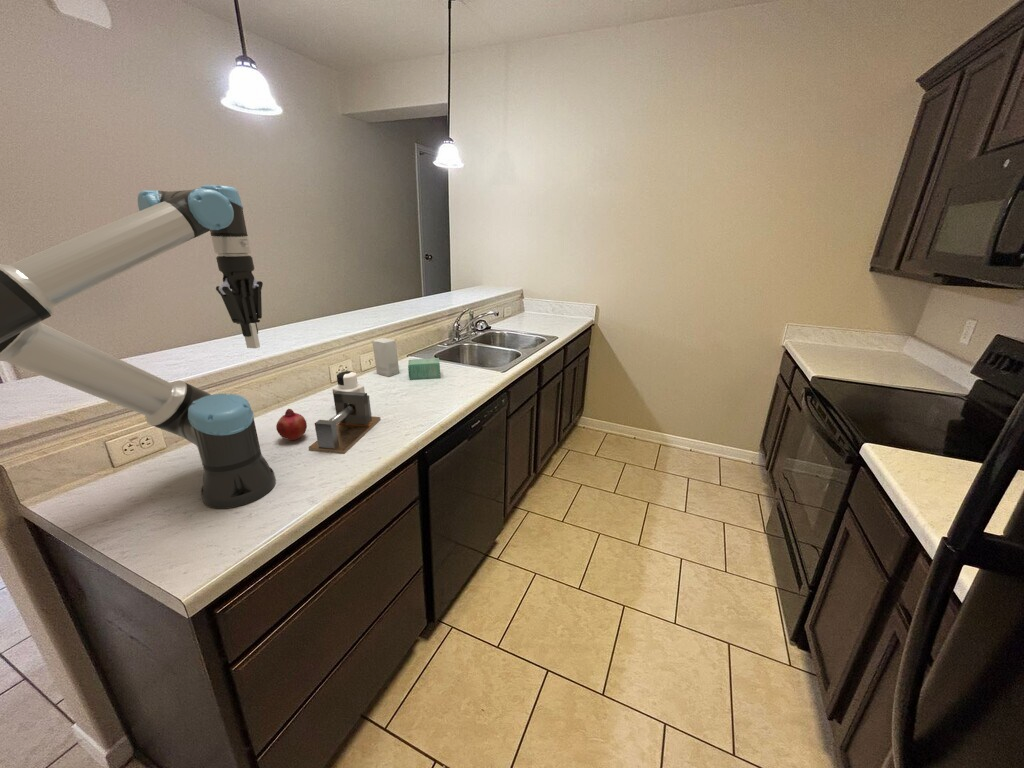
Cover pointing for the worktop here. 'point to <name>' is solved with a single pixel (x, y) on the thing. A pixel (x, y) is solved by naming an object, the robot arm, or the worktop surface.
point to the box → (424, 369)
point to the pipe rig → (340, 431)
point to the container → (348, 383)
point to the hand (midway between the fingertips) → (253, 347)
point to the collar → (360, 402)
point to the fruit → (291, 425)
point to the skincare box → (386, 356)
